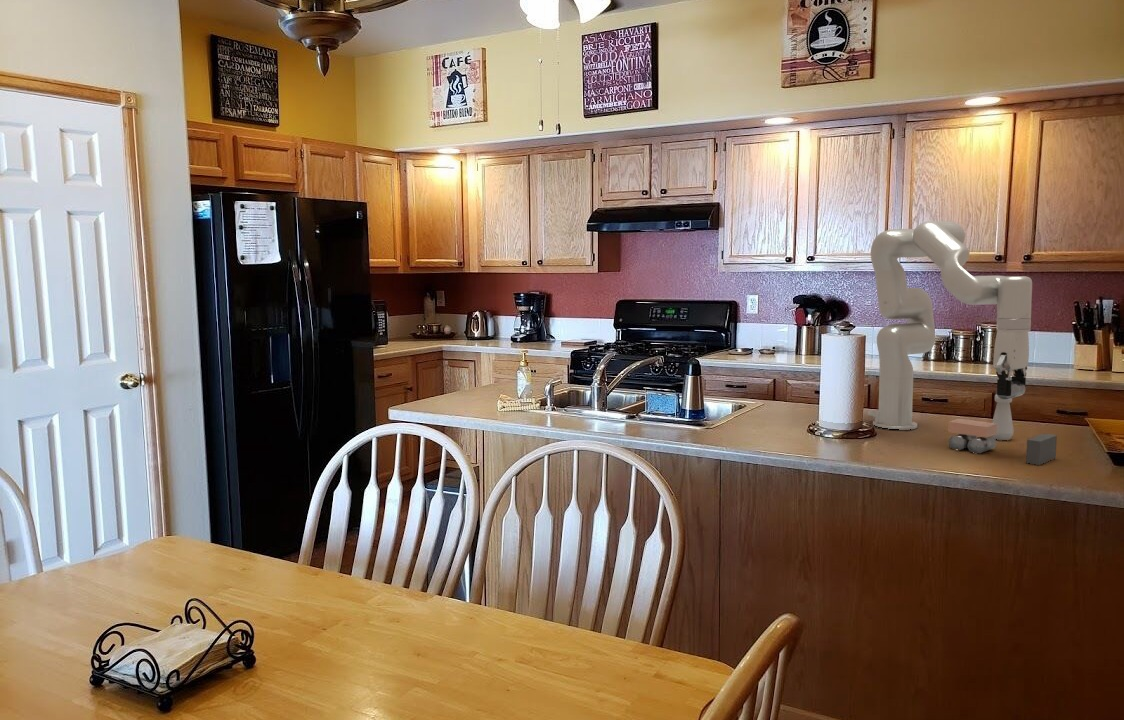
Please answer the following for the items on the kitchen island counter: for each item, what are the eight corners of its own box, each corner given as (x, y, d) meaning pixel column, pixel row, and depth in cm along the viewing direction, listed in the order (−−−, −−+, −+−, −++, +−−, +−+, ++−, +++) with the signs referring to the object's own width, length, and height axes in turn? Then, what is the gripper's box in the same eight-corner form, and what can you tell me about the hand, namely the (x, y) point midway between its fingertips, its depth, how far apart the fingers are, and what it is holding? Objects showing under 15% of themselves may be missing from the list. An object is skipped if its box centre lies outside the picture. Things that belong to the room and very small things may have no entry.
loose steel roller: (995, 398, 200) (996, 383, 199) (1008, 395, 204) (1009, 380, 204) (1012, 400, 197) (1012, 384, 196) (1025, 396, 201) (1025, 381, 201)
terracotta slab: (948, 431, 211) (948, 421, 211) (958, 428, 215) (959, 418, 215) (986, 437, 203) (987, 427, 203) (996, 434, 207) (997, 423, 207)
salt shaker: (1001, 442, 217) (1003, 396, 216) (985, 437, 223) (986, 392, 221) (1018, 440, 219) (1020, 394, 217) (1001, 436, 224) (1003, 391, 223)
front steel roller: (966, 452, 207) (968, 437, 206) (980, 447, 212) (981, 433, 211) (982, 455, 204) (983, 440, 203) (995, 450, 209) (996, 436, 208)
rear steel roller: (948, 449, 211) (948, 434, 210) (961, 444, 216) (962, 430, 215) (963, 452, 208) (964, 437, 207) (976, 447, 212) (977, 433, 212)
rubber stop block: (1026, 463, 195) (1027, 439, 194) (1042, 456, 201) (1043, 433, 200) (1039, 465, 192) (1040, 441, 191) (1055, 458, 198) (1056, 435, 198)
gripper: (1012, 322, 207) (1010, 388, 209) (982, 326, 196) (980, 396, 198) (1044, 323, 201) (1041, 391, 203) (1014, 327, 190) (1011, 399, 192)
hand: (1011, 393), depth 200 cm, fingers closed on loose steel roller, 7 cm apart
